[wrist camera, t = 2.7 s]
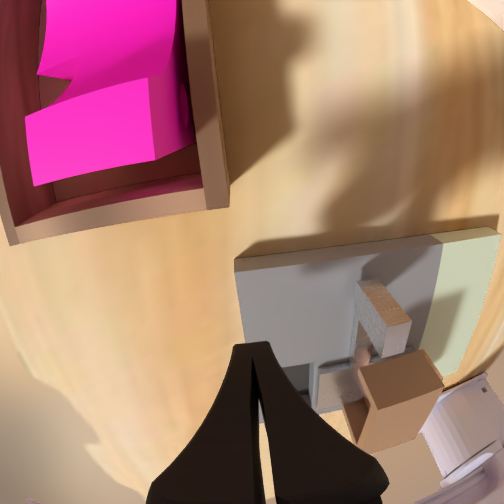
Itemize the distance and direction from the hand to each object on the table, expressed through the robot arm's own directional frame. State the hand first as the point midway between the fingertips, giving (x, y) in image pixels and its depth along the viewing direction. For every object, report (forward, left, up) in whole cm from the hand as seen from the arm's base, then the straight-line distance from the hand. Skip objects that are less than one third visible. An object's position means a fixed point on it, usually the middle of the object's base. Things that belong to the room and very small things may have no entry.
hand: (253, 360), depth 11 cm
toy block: (+4, -16, -6) cm, 17 cm away
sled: (-8, +4, -4) cm, 10 cm away
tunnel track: (-9, +5, -6) cm, 11 cm away
